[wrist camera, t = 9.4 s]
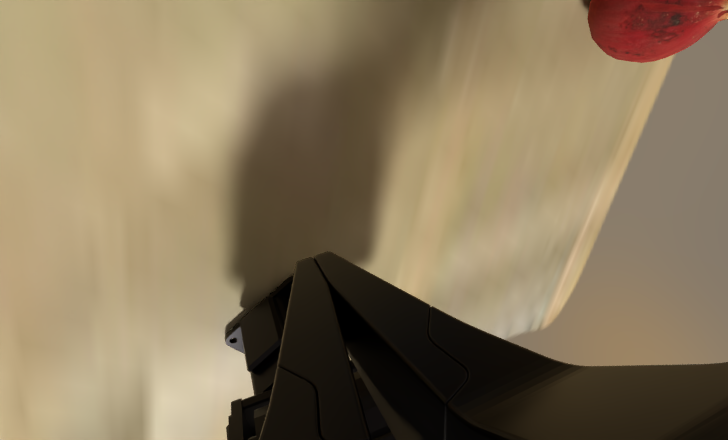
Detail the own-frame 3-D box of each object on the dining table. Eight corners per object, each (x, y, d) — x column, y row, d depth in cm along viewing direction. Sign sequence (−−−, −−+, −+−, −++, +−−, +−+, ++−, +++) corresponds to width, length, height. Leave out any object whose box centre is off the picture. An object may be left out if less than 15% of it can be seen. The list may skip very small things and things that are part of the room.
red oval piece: (552, 64, 25) (677, 87, 19) (562, -40, 22) (716, -55, 16) (620, 41, 26) (759, 56, 20) (638, -60, 23) (810, -82, 17)
